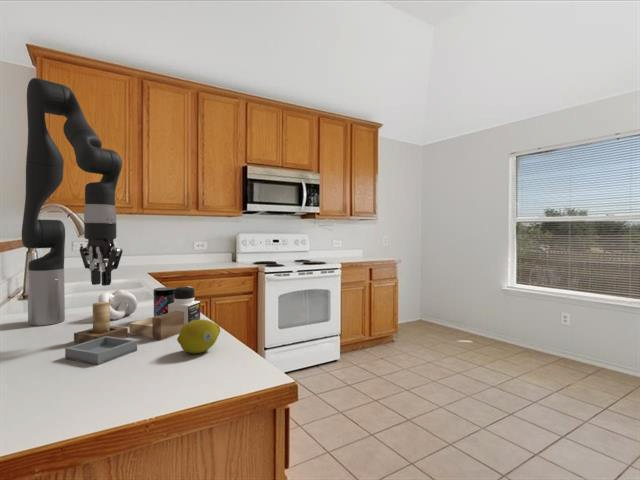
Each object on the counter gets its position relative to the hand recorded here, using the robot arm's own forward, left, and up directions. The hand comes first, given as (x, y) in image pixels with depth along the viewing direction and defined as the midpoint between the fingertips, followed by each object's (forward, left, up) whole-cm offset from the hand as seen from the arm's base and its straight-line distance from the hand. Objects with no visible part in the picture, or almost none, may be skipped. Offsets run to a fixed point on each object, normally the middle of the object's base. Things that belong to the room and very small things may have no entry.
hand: (101, 284), depth 99 cm
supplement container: (-1, +24, -15) cm, 28 cm away
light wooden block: (+7, +11, -16) cm, 20 cm away
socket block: (0, 0, -15) cm, 15 cm away
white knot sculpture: (-18, +21, -15) cm, 32 cm away
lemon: (+31, +2, -15) cm, 35 cm away
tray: (+11, -9, -15) cm, 21 cm away
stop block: (+14, +10, -15) cm, 23 cm away
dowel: (0, 0, -15) cm, 15 cm away
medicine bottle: (+10, +21, -15) cm, 28 cm away
